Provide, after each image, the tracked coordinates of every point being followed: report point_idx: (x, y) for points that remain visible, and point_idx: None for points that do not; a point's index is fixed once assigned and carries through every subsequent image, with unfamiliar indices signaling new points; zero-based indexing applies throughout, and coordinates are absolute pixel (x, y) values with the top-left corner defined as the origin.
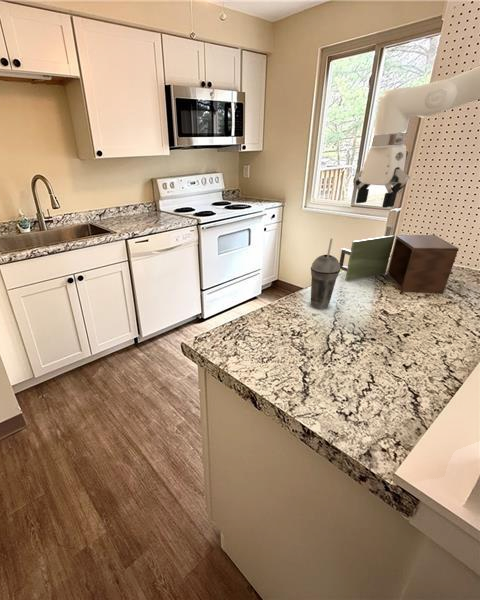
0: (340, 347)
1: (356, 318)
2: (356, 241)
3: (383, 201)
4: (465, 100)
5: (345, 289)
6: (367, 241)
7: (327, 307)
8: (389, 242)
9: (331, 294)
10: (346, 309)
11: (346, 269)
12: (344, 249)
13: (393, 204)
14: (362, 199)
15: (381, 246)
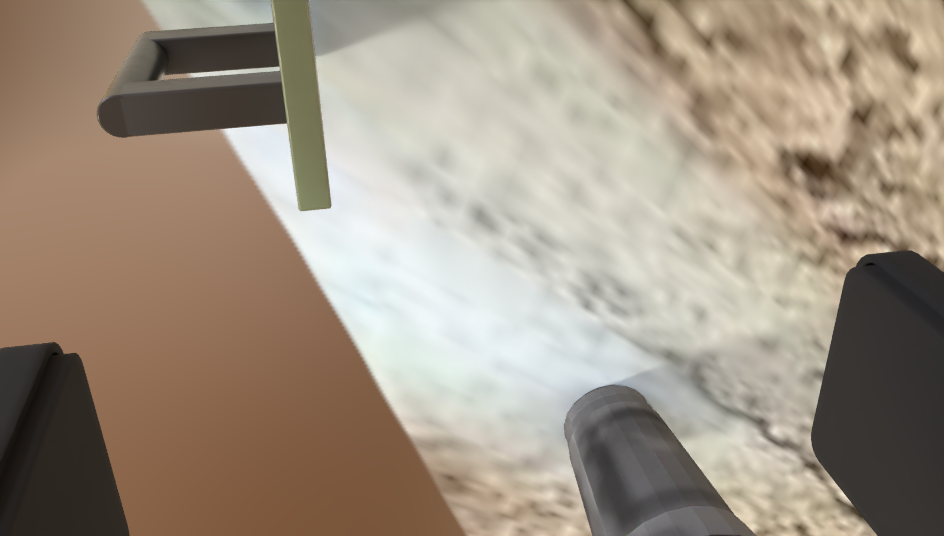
0: None
1: (791, 333)
2: (323, 177)
3: (878, 530)
4: None
5: (459, 166)
6: (308, 3)
7: (645, 400)
8: None
9: (686, 451)
10: (697, 323)
11: (256, 64)
12: (146, 126)
13: (924, 278)
14: (90, 514)
15: None
